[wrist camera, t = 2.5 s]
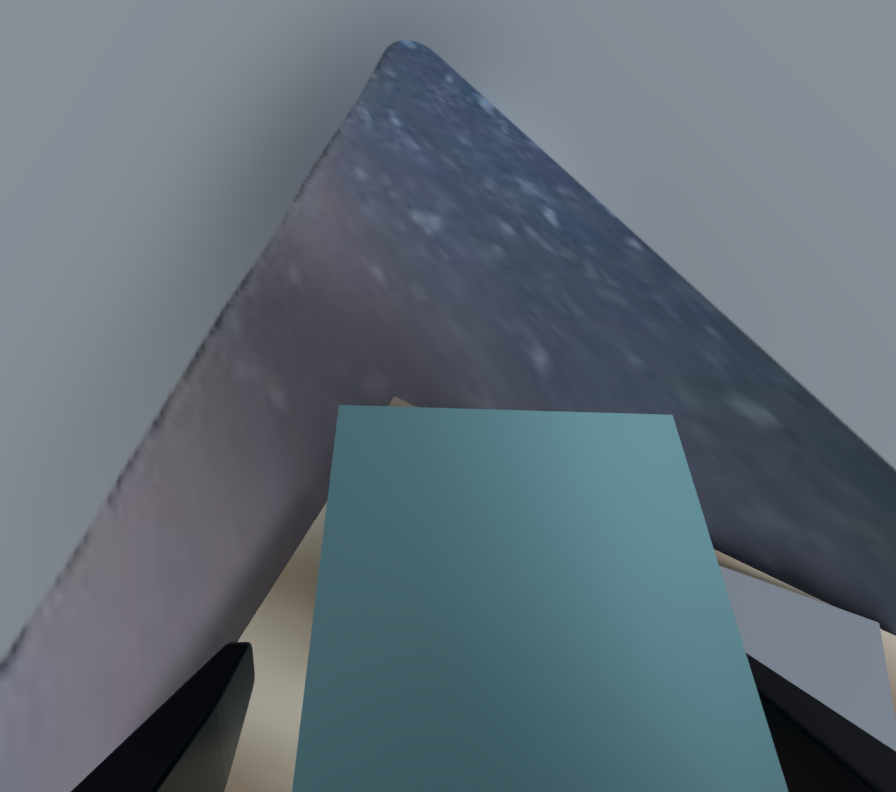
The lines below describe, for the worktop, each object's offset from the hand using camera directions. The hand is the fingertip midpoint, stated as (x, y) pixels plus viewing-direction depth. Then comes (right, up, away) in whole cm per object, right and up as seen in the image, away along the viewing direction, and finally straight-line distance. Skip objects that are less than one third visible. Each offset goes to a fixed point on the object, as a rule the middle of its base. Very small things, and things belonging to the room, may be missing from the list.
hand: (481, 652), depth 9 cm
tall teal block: (-1, -3, +6) cm, 7 cm away
